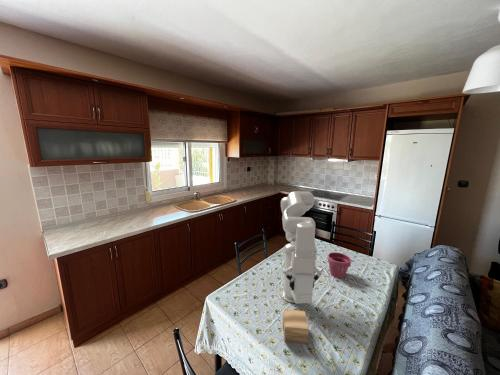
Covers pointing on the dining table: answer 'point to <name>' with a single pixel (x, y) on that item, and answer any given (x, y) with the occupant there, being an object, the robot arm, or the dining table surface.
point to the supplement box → (303, 289)
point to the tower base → (295, 338)
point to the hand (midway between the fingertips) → (301, 288)
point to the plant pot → (338, 264)
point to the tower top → (295, 323)
